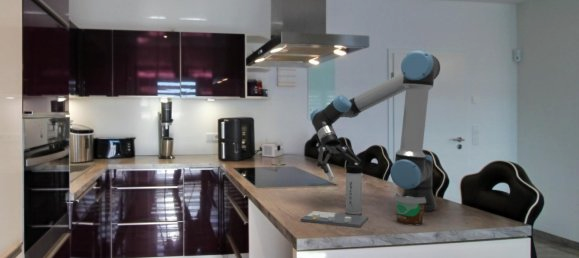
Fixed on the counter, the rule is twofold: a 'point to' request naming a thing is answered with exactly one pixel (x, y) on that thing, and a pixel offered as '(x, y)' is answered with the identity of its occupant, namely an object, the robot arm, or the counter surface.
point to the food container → (409, 209)
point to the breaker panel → (335, 219)
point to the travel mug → (354, 189)
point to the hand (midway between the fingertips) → (346, 178)
